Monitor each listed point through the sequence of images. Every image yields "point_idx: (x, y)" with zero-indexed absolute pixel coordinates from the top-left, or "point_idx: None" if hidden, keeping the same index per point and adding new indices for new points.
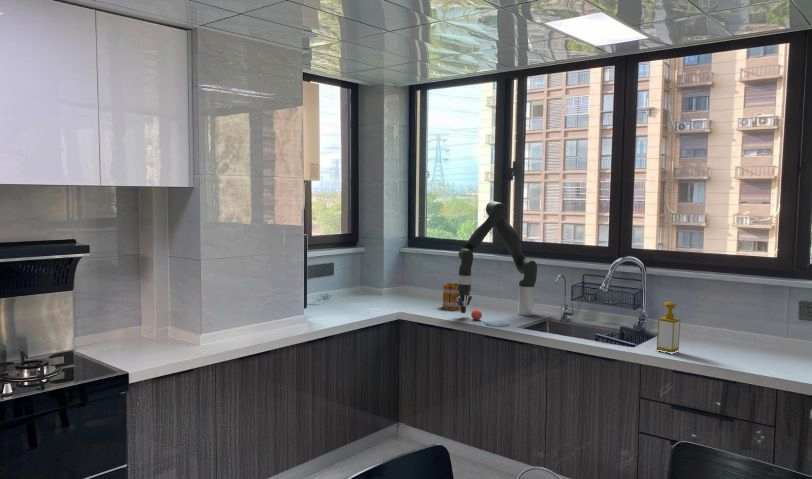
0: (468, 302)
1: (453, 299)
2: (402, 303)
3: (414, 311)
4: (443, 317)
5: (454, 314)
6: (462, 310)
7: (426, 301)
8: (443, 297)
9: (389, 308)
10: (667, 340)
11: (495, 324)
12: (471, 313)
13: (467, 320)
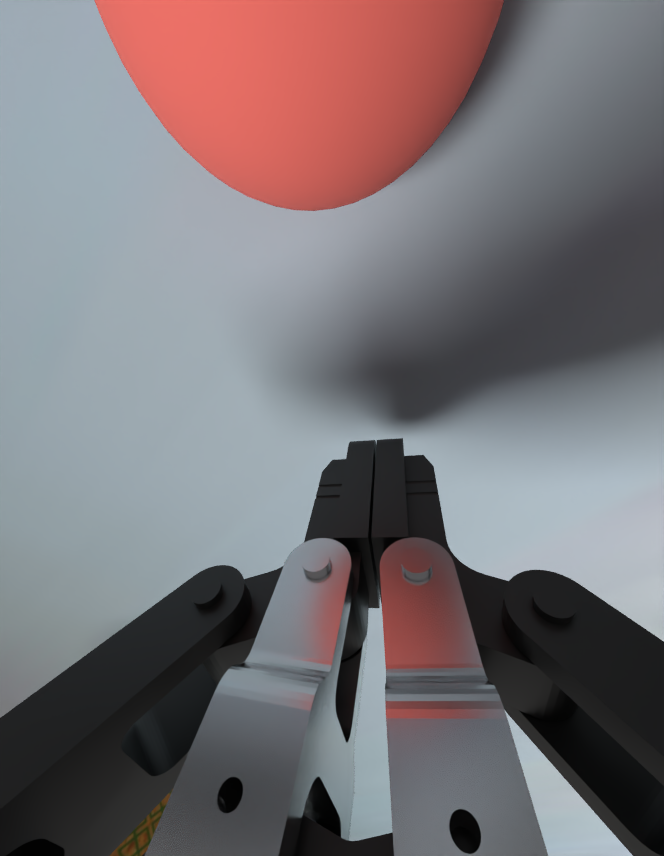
0: (161, 652)
1: (162, 802)
2: (384, 829)
3: (547, 764)
4: (626, 551)
5: None
6: (436, 485)
7: None
8: None
9: (585, 837)
10: None
11: None
12: (451, 109)
13: (562, 136)
